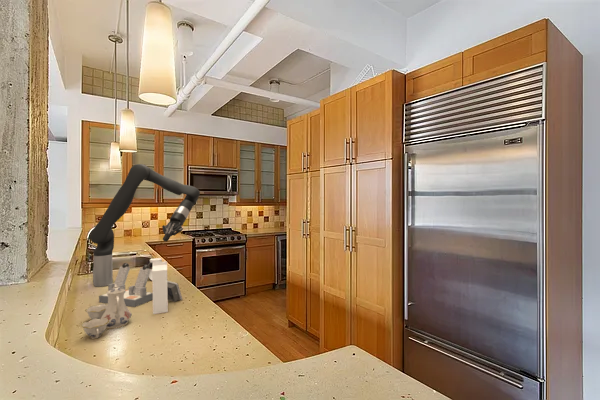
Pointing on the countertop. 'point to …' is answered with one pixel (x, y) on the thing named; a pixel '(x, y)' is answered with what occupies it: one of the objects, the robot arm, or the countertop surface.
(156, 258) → the spread jar
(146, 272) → the lever outer
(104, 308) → the chinaware
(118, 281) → the lever inner
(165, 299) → the milk
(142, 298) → the switch panel
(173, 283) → the electrical switch
